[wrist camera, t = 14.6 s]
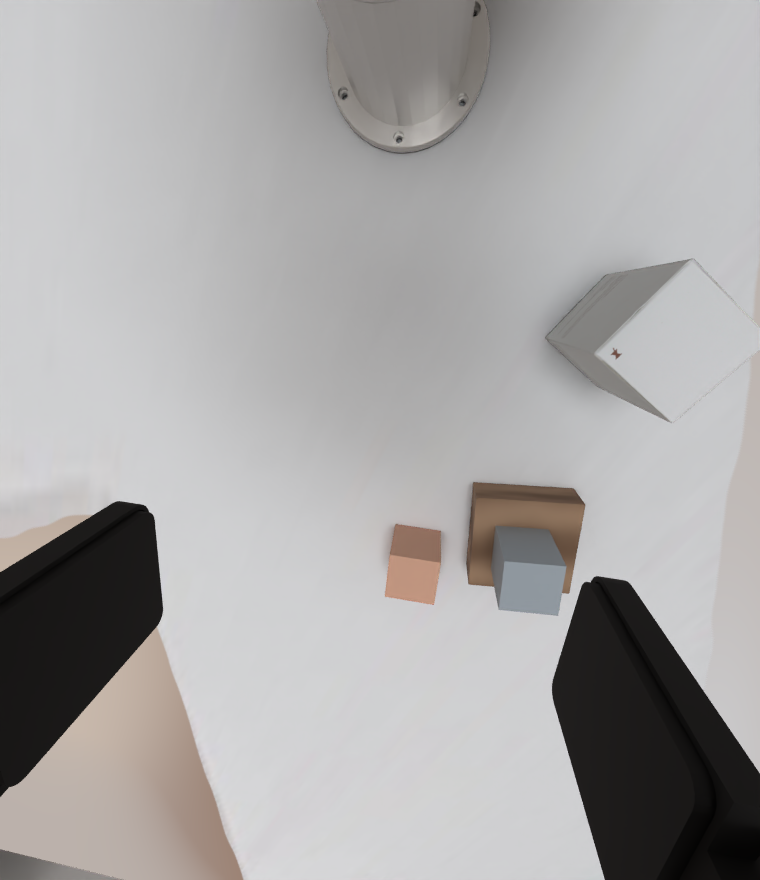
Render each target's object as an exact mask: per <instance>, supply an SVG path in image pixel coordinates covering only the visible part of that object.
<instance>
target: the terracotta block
mask: <svg viewBox="0 0 760 880" xmlns="http://www.w3.org/2000/svg"><path fill="white" fill-rule="evenodd" d="M440 565H441V531H438V530H431V529H424V528H418V527H411V526H405V525H398V524H396V525H395V530H394V535H393V541H392V546H391V551H390V557H389V566H388V574H387V582H386V591H385V597H391V598H397V599H403V600H408V601H414V602H420V603H426V604H432V605H434V601H435V595H436V589H437V583H438V577H439V571H440Z"/></svg>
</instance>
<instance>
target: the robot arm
mask: <svg viewBox="0 0 760 880" xmlns="http://www.w3.org/2000/svg"><path fill="white" fill-rule="evenodd" d="M316 1H317V4H318V6H319V9H320V11H321V14H322V16H323V19H324V21H325V23H326V26H327V28H328V31H329V34H328V43H327V71H328V76H329V81H330V87H331V90H332V92H333V95H334V98H335V101H336V103H337V105H338V107H339V109H340V111H341V113H342V115H343V117H344V118H345V119H346V121H347V122H348V124H349V125H350V127H351V128H352V129H353V130H354V131H355V132H356V133H357V134H358V135H359V136H360V137H361V138H362V139H364V140H365V141H367V142H369V143H370V144H372V145H373V146H375V147H378V148H381V149H383V150H386V151H391V152H399V153H405V152H415V151H419V150H422V149H425V148H428V147H431V146H432V145H434V144H436V143H438V142H439V141H441V140H443V139H445V138H446V137H447V136H448V135H449V134H450V133H452V132H453V131H454V130H455V129H456V128H457V127H458V126H459V125H460V123H461V122H462V121H463V120H464V119H465V117H466V116H467V115H468V113H469V112H470V110H471V108H472V107H473V105H474V103H475V101H476V100H477V97H478V95H479V92H480V90H481V87H482V84H483V82H484V78H485V74H486V70H487V65H488V58H489V51H490V26H489V20H488V14H487V9H486V6H485V3H484V0H316ZM473 13H475V14H476V15H477V16H475V17H473ZM344 95H347V96H348V97H347V98H346V99H345V100H343V97H344ZM461 101H464V102H465V106H460V105H459V103H460V102H461ZM398 138H401V139H402V142H401V143H399V144H398V143H397V142H396V141H397V139H398ZM162 613H163V603H162V593H161V583H160V572H159V562H158V551H157V541H156V530H155V520H154V516H153V515H152V514H151V513H149V510H148V509H147V507H146V506H144V505H141V504H134V503H128V502H122V501H117V502H115V503H112V504H111V505H109V506H107V507H106V508H104V509H103V510H101V511H99V512H98V513H96V514H94V515H93V516H91V517H90V518H88V519H86V520H85V521H83V522H81V523H80V524H78V525H77V526H75V527H73V528H72V529H70V530H68V531H67V532H65V533H64V534H62V535H60V536H59V537H57V538H55V539H54V540H52V541H50V542H49V543H47V544H46V545H44V546H42V547H41V548H39V549H37V550H36V551H34V552H33V553H31V554H29V555H28V556H26V557H24V558H23V559H21V560H20V561H18V562H16V563H15V564H13V565H11V566H10V567H8V568H7V569H5V570H4V571H2V572H0V797H1V796H2V795H3V793H4V792H5V791H6V790H7V789H8V788H9V787H12V786H14V785H16V784H18V783H19V782H21V781H22V780H23V779H24V778H25V777H26V776H27V775H28V774H29V772H30V771H31V770H32V769H33V768H34V767H35V766H36V764H37V763H38V762H39V761H40V760H41V758H43V756H44V755H45V754H46V753H47V752H48V751H49V750H50V748H51V747H52V746H53V745H54V744H55V743H56V741H57V740H58V739H59V738H60V737H61V736H62V735H63V733H64V732H65V731H66V730H67V729H68V727H70V725H71V724H72V723H73V722H74V721H75V720H76V719H77V717H78V716H79V715H80V714H81V713H82V711H84V709H85V708H86V707H87V706H88V705H89V704H90V702H91V701H92V700H93V699H94V698H95V697H96V696H97V694H98V693H99V692H100V691H101V690H102V689H103V688H104V686H105V685H106V684H107V683H108V682H109V681H110V679H111V678H112V677H113V676H114V675H115V674H116V673H117V672H118V670H119V669H120V668H121V667H122V666H123V665H124V663H125V662H126V661H127V660H128V659H129V658H130V656H131V655H132V654H133V653H134V652H135V651H136V650H137V649H138V647H139V646H140V645H141V644H142V643H143V642H144V640H145V639H146V638H147V637H148V636H149V635H150V634H151V632H152V631H153V630H154V629H155V628H156V627H157V625H158V624H159V622H160V620H161V617H162ZM552 695H553V701H554V705H555V708H556V712H557V715H558V719H559V722H560V726H561V729H562V733H563V736H564V739H565V743H566V746H567V750H568V753H569V757H570V760H571V764H572V767H573V771H574V774H575V778H576V781H577V785H578V788H579V791H580V795H581V798H582V802H583V805H584V809H585V812H586V816H587V819H588V823H589V826H590V830H591V833H592V836H593V840H594V843H595V847H596V850H597V854H598V857H599V861H600V864H601V868H602V871H603V875H604V878H605V880H760V773H759V772H758V770H757V769H756V767H755V766H754V764H753V763H752V761H751V760H750V759H749V757H748V756H747V754H746V753H745V751H744V750H743V748H742V747H741V745H740V744H739V742H738V741H737V739H736V738H735V737H734V735H733V734H732V732H731V731H730V729H729V728H728V726H727V725H726V723H725V722H724V721H723V719H722V717H721V716H720V715H719V713H718V712H717V710H716V709H715V707H714V706H713V704H712V703H711V701H710V700H709V699H708V697H707V696H706V694H705V693H704V691H703V690H702V688H701V687H700V685H699V684H698V682H697V681H696V679H695V678H694V676H693V675H692V674H691V672H690V671H689V669H688V668H687V666H686V665H685V663H684V662H683V660H682V659H681V657H680V656H679V655H678V653H677V652H676V650H675V649H674V647H673V646H672V644H671V643H670V641H669V640H668V638H667V637H666V635H665V634H664V633H663V631H662V630H661V628H660V627H659V625H658V624H657V622H656V621H655V619H654V618H653V616H652V615H651V614H650V612H649V611H648V609H647V608H646V606H645V605H644V603H643V602H642V600H641V599H640V597H639V596H638V594H637V593H636V592H635V590H634V589H633V587H632V586H631V585H630V583H629V582H627V581H624V580H618V579H612V578H605V577H599V576H596V577H594V578H593V579H592V581H591V583H590V582H585V583H584V584H583V585H582V587H581V590H580V593H579V596H578V600H577V603H576V606H575V610H574V613H573V616H572V619H571V623H570V626H569V629H568V633H567V636H566V639H565V642H564V646H563V649H562V652H561V655H560V659H559V662H558V665H557V669H556V672H555V675H554V678H553V683H552ZM0 880H122V879H118V878H114V877H110V876H106V875H102V874H98V873H94V872H90V871H86V870H82V869H78V868H74V867H70V866H66V865H62V864H57V863H54V862H50V861H45V860H41V859H37V858H33V857H29V856H25V855H20V854H17V853H13V852H9V851H5V850H0Z"/></svg>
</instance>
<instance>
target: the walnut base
mask: <svg viewBox="0 0 760 880" xmlns="http://www.w3.org/2000/svg"><path fill="white" fill-rule="evenodd" d="M584 510H585V504H584V502H583V501H582V499H581V498H580V497H579V495H578V494H577V492H576V491H575V490H574V489H573V488H557V487H540V486H524V485H508V484H491V483H475V482H474V483H473V494H472V506H471V517H470V529H469V540H468V552H467V563H466V564H467V574H468V584H471V585H482V586H492V587H494V582H493V577H492V572H491V563H492V554H493V545H494V535H495V526H508V527H522V528H535V529H549V531H550V533H551V535H552V538H553V540H554V542H555V544H556V546H557V548H558V550H559V552H560V554H561V556H562V558H563V560H564V562H565V564H566V566H567V567H566V573H565V578H564V584H563V590H562V593H568V594H569V591H570V586H571V580H572V575H573V570H574V564H575V559H576V553H577V548H578V542H579V537H580V531H581V526H582V521H583V515H584Z"/></svg>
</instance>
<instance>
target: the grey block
mask: <svg viewBox="0 0 760 880" xmlns="http://www.w3.org/2000/svg"><path fill="white" fill-rule="evenodd" d="M566 567H567V566H566V564H565V562H564V560H563V558H562V556H561V554H560V552H559V550H558V548H557V546H556V544H555V542H554V540H553V538H552V535H551V533H550V531H549V529H535V528H522V527H508V526H495V535H494V545H493V554H492V563H491V572H492V577H493V582H494V588H495V593H496V598H497V603H498V608H499V610H506V611H516V612H526V613H536V614H546V615H556V616H558V612H559V607H560V601H561V595H562V590H563V584H564V578H565V573H566Z"/></svg>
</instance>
